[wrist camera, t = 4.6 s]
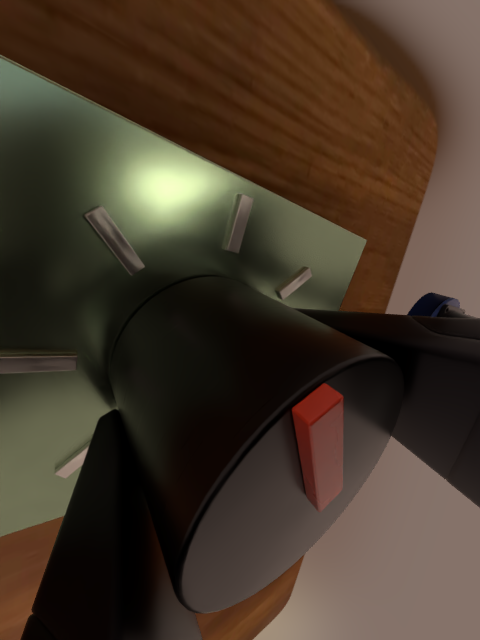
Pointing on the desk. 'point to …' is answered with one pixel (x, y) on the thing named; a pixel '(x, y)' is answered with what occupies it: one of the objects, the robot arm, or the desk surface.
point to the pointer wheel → (246, 431)
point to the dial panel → (116, 266)
